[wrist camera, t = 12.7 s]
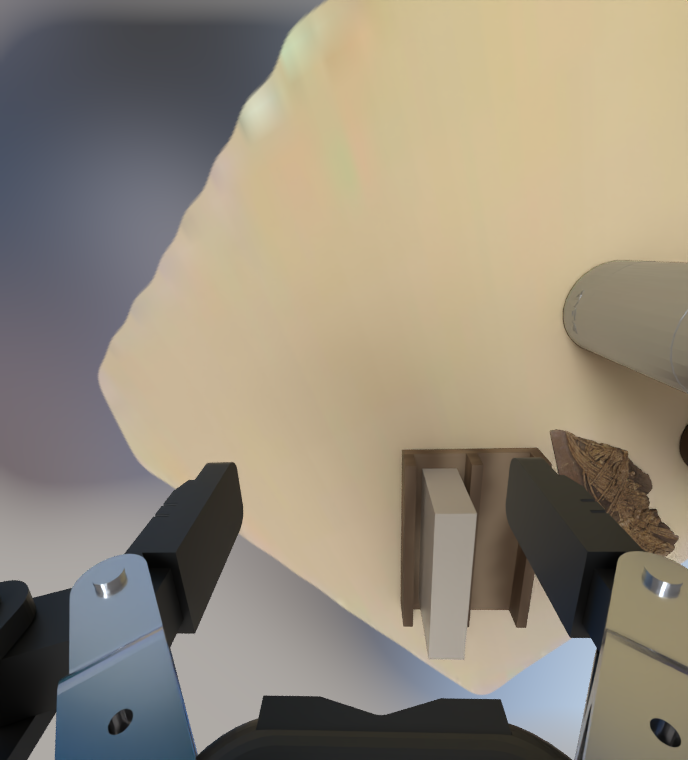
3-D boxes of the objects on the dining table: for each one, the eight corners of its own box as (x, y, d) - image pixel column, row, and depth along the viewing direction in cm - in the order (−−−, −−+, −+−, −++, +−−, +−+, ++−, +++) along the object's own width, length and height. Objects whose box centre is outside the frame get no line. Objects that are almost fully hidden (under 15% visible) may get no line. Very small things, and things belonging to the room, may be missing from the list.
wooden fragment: (686, 556, 48) (692, 562, 47) (602, 590, 50) (607, 596, 49) (608, 398, 42) (614, 402, 41) (516, 446, 44) (520, 450, 43)
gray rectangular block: (456, 468, 44) (476, 513, 36) (448, 598, 50) (464, 659, 43) (422, 468, 44) (435, 513, 36) (418, 597, 50) (428, 659, 43)
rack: (537, 447, 44) (551, 464, 40) (515, 603, 51) (526, 627, 48) (402, 450, 44) (405, 465, 41) (400, 602, 52) (403, 626, 49)
